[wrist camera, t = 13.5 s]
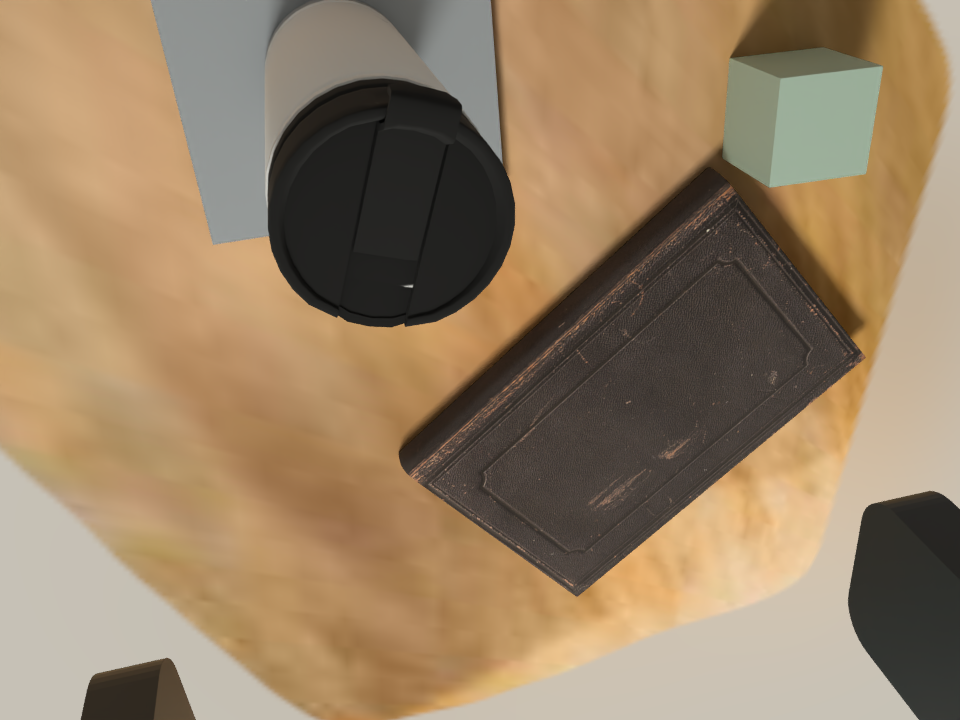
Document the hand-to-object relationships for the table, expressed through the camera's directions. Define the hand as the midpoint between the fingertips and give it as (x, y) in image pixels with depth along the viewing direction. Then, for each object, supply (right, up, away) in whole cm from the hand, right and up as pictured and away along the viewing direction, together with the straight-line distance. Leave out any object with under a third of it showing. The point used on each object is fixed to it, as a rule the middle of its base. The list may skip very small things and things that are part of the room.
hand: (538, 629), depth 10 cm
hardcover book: (+8, +1, +42) cm, 43 cm away
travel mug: (-7, +16, +28) cm, 33 cm away
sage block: (+14, +16, +35) cm, 41 cm away
